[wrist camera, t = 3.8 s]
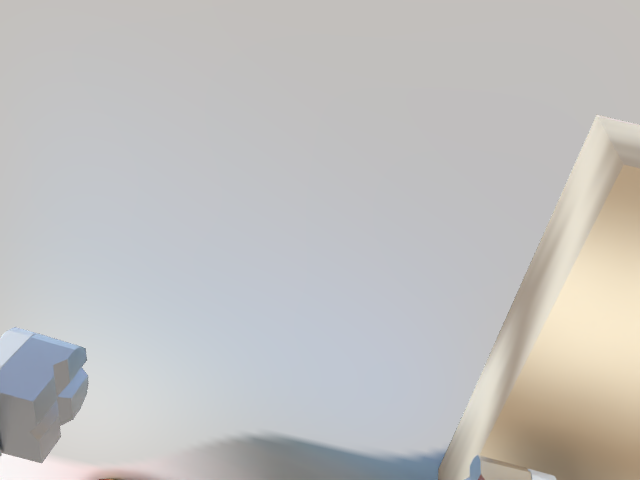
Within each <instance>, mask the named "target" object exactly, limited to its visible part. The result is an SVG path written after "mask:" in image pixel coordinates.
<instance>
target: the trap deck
mask: <svg viewBox="0 0 640 480" xmlns="http://www.w3.org/2000/svg"><path fill="white" fill-rule="evenodd" d="M477 455H480V456H484V457H487V458H491V459H495V460H499V461H503V462H506V463H510V464H514V465H518V466H522V467H526V468H527V469H531V470H535V471H539V472H542V473H546V474H550V475H553V476H555V478H556V479H557V480H640V124H635V123H631V122H627V121H622V120H618V119H613V118H609V117H605V116H600V115H596V117H595V120H594V122H593V124H592V126H591V129H590V131H589V133H588V135H587V138H586V140H585V142H584V144H583V146H582V149H581V151H580V153H579V156H578V158H577V160H576V162H575V165H574V167H573V169H572V171H571V174H570V176H569V178H568V180H567V182H566V185H565V187H564V189H563V191H562V194H561V196H560V198H559V201H558V203H557V205H556V207H555V209H554V211H553V214H552V216H551V218H550V221H549V223H548V225H547V227H546V229H545V232H544V234H543V236H542V238H541V241H540V243H539V245H538V247H537V250H536V252H535V254H534V257H533V258H532V261H531V263H530V265H529V268H528V270H527V272H526V274H525V276H524V279H523V281H522V283H521V286H520V288H519V290H518V292H517V294H516V297H515V299H514V301H513V303H512V306H511V308H510V310H509V312H508V314H507V317H506V319H505V321H504V323H503V326H502V328H501V330H500V332H499V335H498V337H497V339H496V341H495V344H494V346H493V348H492V351H491V353H490V355H489V357H488V359H487V362H486V364H485V366H484V368H483V370H482V373H481V375H480V378H479V379H478V382H477V384H476V386H475V389H474V391H473V393H472V395H471V398H470V400H469V402H468V404H467V406H466V409H465V411H464V413H463V415H462V418H461V420H460V422H459V424H458V427H457V429H456V431H455V433H454V435H453V438H452V440H451V442H450V444H449V447H448V449H447V451H446V453H445V456H444V458H443V460H442V462H441V465H440V467H439V469H438V480H464V479H467V478H469V477H470V465H471V463H472V461H473V459H474V458H475V457H476V456H477Z"/></svg>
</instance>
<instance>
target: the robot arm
mask: <svg viewBox="0 0 640 480" xmlns="http://www.w3.org/2000/svg"><path fill="white" fill-rule="evenodd" d="M86 361H87V357H86V349H85V348H83V347H81V346H78V345H74V344H71V343H68V342H64V341H61V340H58V339H55V338H51V337H48V336H45V335H41V334H37V333H34V332H30V331H27V330H24V329H20V328H17V327H14V328H12V329H10V330H8V331H6V332H5V333H4V334H3V335H2V336H1V337H0V456H1V455H2V454H1V453H5V454H8V455H12V456H16V457H20V458H24V459H28V460H31V461H35V462H39V463H43V461H44V460H45V458H46V457H47V456H48V454H49V453H50V451H51V450H52V448H53V447H54V446H55V444H56V443H57V442H58V440H59V439H60V437H61V432H60V426H61V425H63V424H65V423H67V422H69V421H71V420H73V419H74V417H75V416H76V414H77V413H78V412H79V410H80V409H81V406H82V404H83V402H84V399H85V397H86V394H87V389H88V375H87V374H86V372H85V371H84V370H83V368H82V366H83V364H84V363H85V362H86ZM464 480H557V479H556V478H555V476H553V475H550V474H546V473H542V472H539V471H535V470H531V469H527V468H526V467H522V466H518V465H514V464H510V463H506V462H503V461H499V460H495V459H491V458H487V457H484V456H480V455H477V456H476V457H475V458H474V459H473V461H472V463H471V465H470V477H469V478H467V479H464Z"/></svg>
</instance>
